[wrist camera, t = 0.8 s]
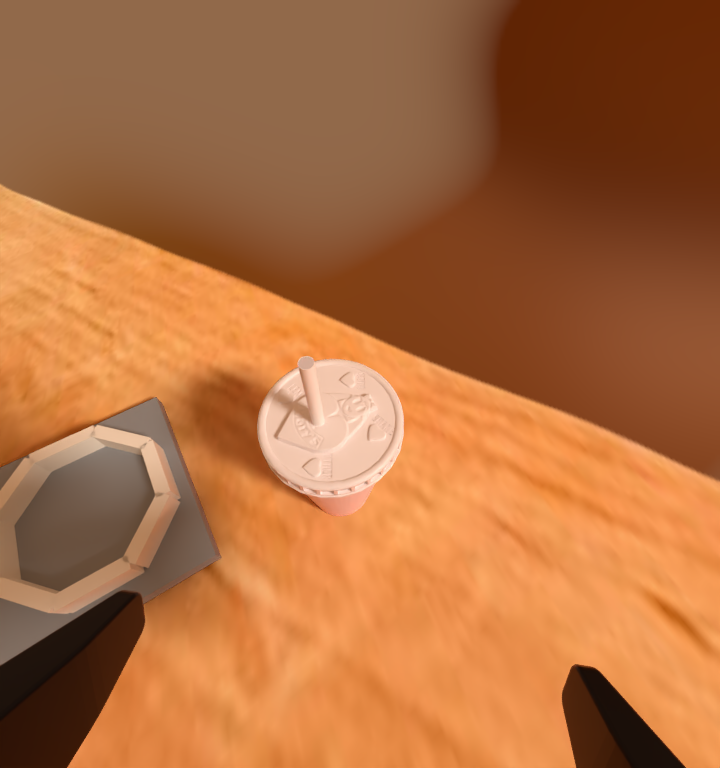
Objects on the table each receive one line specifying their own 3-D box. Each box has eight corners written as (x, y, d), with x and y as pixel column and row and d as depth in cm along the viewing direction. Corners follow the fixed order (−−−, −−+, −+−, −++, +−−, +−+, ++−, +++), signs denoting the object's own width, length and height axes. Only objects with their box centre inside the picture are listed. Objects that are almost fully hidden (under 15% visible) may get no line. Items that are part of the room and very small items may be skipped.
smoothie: (277, 462, 26) (205, 320, 14) (365, 426, 27) (369, 269, 15) (310, 558, 22) (254, 482, 11) (408, 512, 24) (455, 399, 12)
